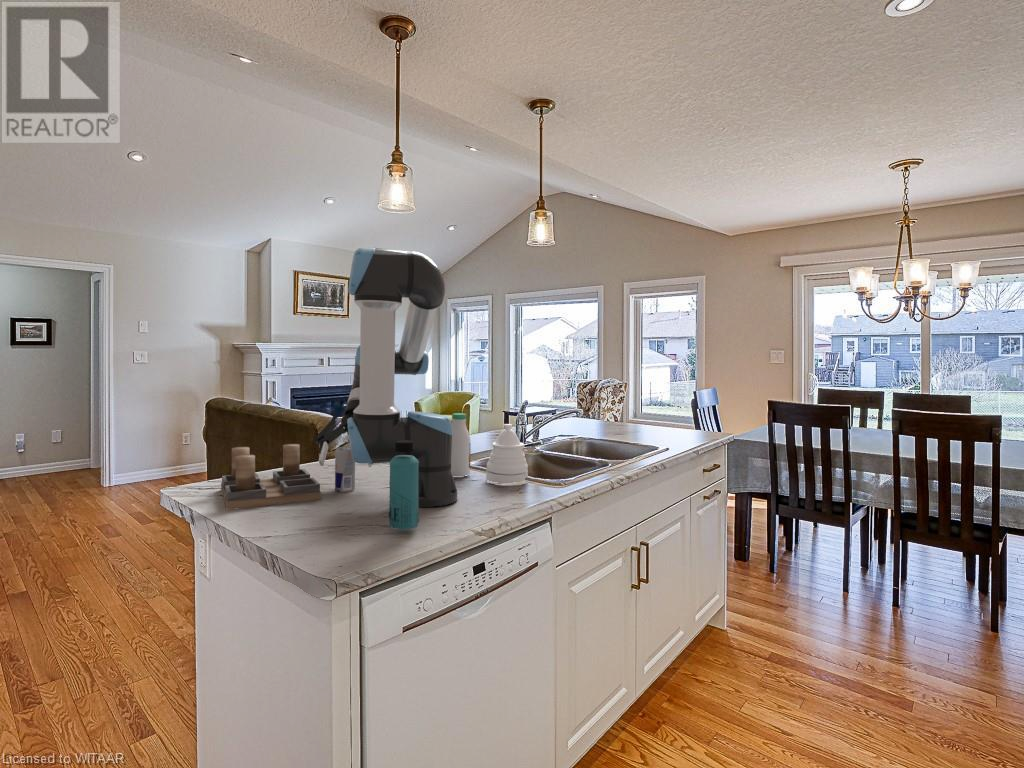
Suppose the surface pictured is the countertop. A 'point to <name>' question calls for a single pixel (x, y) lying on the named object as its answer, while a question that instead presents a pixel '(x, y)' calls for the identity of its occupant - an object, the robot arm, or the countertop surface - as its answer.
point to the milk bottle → (460, 446)
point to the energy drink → (344, 470)
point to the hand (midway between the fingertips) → (345, 463)
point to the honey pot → (507, 459)
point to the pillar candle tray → (267, 481)
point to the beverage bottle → (404, 488)
